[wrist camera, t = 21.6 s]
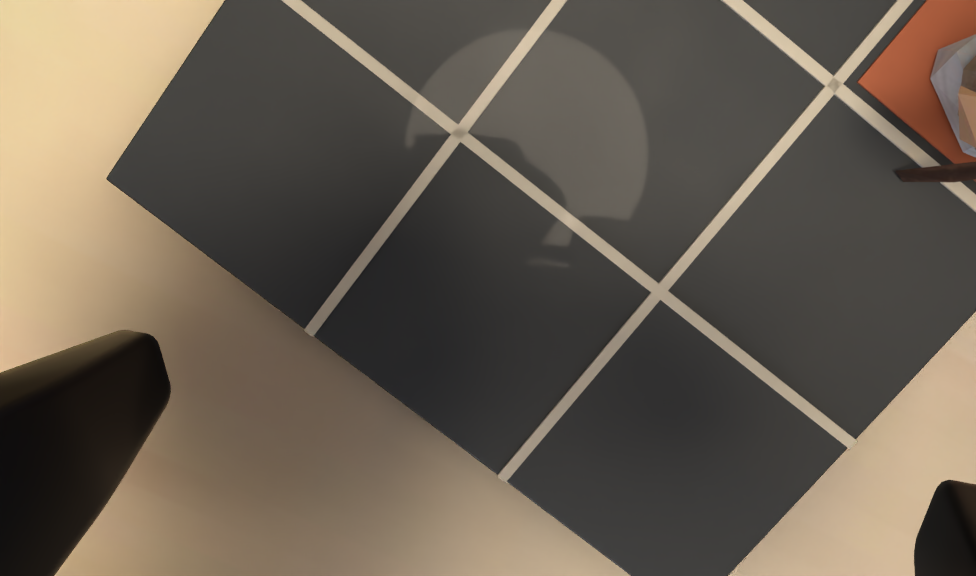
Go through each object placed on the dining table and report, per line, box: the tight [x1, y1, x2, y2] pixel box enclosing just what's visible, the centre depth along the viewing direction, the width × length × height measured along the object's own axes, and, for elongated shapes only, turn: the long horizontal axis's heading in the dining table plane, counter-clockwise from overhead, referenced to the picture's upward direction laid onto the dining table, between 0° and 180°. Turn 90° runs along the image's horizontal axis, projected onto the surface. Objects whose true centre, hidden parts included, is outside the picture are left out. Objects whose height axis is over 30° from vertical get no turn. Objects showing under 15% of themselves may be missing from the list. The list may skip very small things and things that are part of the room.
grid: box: [107, 0, 976, 576], centre depth 19 cm, size 20×20×1 cm
